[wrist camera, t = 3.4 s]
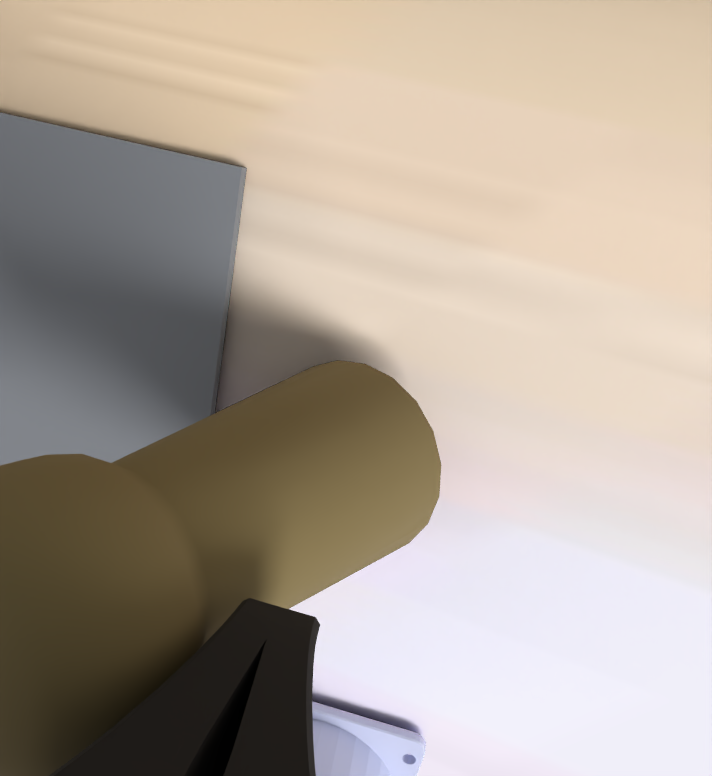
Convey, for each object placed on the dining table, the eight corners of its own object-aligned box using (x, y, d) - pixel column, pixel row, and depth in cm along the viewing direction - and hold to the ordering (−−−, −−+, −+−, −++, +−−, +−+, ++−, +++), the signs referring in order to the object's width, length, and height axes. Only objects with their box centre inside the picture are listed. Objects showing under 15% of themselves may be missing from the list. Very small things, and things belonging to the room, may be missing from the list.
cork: (247, 397, 19) (-185, 513, 10) (392, 329, 16) (-53, 408, 7) (312, 568, 19) (-68, 847, 10) (473, 534, 16) (127, 910, 6)
